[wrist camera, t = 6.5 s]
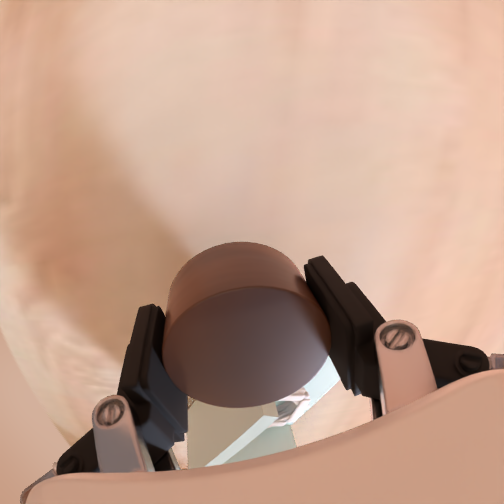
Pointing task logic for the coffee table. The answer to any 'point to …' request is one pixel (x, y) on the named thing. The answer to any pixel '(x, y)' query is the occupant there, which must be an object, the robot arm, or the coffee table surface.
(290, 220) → the coffee table surface
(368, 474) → the robot arm
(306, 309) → the brown cylinder
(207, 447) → the right angle wall
